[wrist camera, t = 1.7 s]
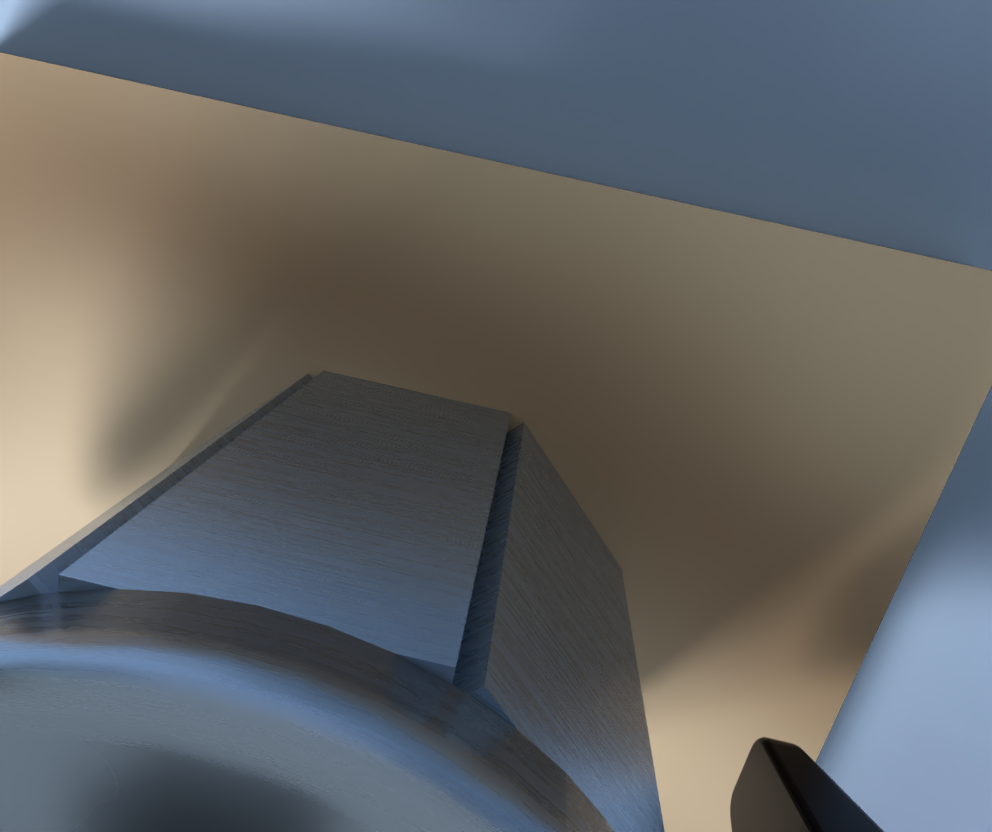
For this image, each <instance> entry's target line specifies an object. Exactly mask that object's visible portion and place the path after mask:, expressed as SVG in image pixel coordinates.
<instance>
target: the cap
mask: <svg viewBox="0 0 992 832" xmlns="http://www.w3.org/2000/svg"><path fill="white" fill-rule="evenodd" d="M510 415H511V413H510V412H505V411H501V410H496V409H492V408H488V407H483V406H479V405H474V404H470V403H466V402H461V401H457V400H452V399H448V398H443V397H439V396H435V395H430V394H426V393H421V392H417V391H413V390H408V389H404V388H399V387H395V386H391V385H386V384H382V383H377V382H373V381H368V380H364V379H360V378H355V377H351V376H346V375H342V374H338V373H333V372H329V371H323V372H321V373H320V374H319V375H317V376H316V377H315V378H312V377H311V376H310V374H309V373H308V374H307V375H305V376H304V377H302V378H301V379H299V380H298V381H296V382H295V383H293V384H292V385H290V386H289V387H287V388H286V389H284V390H283V391H281V392H280V393H278V394H277V395H275V396H274V397H272V398H271V399H269V400H268V401H266V402H265V403H263V404H262V405H260V406H259V407H257V408H256V409H254V410H253V411H251V412H250V413H248V414H247V415H245V416H244V417H242V418H241V419H239V420H238V421H236V422H235V423H233V424H232V425H230V426H229V427H227V428H226V429H224V430H223V431H221V432H220V433H218V434H217V435H215V436H214V437H212V438H211V439H209V440H208V441H206V442H205V443H203V444H202V445H200V446H199V447H197V448H196V449H194V450H193V451H191V452H190V453H188V454H187V455H185V456H184V457H182V458H181V459H179V460H178V461H176V462H175V463H173V464H172V465H170V466H169V467H167V468H166V469H165V470H163V471H162V472H160V473H159V474H158V475H156V476H155V477H153V478H152V479H150V480H149V481H148V482H146V483H145V484H143V485H142V486H141V487H139V488H138V489H136V490H135V491H134V492H132V493H131V494H129V495H128V496H127V497H125V498H124V499H122V500H121V501H119V502H118V503H117V504H115V505H114V506H112V507H111V508H110V509H108V510H107V511H105V512H104V513H103V514H101V515H100V516H98V517H97V518H95V519H94V520H93V521H91V522H90V523H88V524H87V525H86V526H84V527H83V528H81V529H80V530H79V531H77V532H76V533H74V534H73V535H72V536H70V537H69V538H67V539H66V540H64V541H63V542H62V543H60V544H59V545H57V546H56V547H55V548H53V549H52V550H50V551H49V552H48V553H46V554H45V555H43V556H42V557H41V558H39V559H38V560H36V561H35V562H33V563H32V564H31V565H29V566H28V567H26V568H25V569H24V570H22V571H21V572H19V573H18V574H17V575H15V576H14V577H12V578H11V579H10V580H8V581H7V582H5V583H4V584H2V585H1V586H0V832H665V831H664V825H663V818H662V812H661V806H660V800H659V794H658V788H657V782H656V776H655V770H654V764H653V757H652V751H651V745H650V739H649V733H648V727H647V721H646V715H645V709H644V703H643V696H642V690H641V684H640V678H639V672H638V666H637V660H636V654H635V648H634V642H633V635H632V629H631V623H630V617H629V611H628V605H627V599H626V593H625V587H624V581H623V574H622V568H621V567H620V565H619V564H618V562H617V561H616V559H615V558H614V556H613V555H612V553H611V552H610V550H609V549H608V547H607V546H606V544H605V543H604V541H603V540H602V538H601V537H600V535H599V534H598V532H597V531H596V529H595V528H594V526H593V525H592V523H591V522H590V520H589V519H588V517H587V516H586V514H585V512H584V511H583V509H582V508H581V506H580V505H579V503H578V502H577V500H576V499H575V497H574V496H573V494H572V493H571V491H570V490H569V488H568V487H567V485H566V484H565V482H564V481H563V479H562V478H561V476H560V475H559V473H558V472H557V470H556V469H555V467H554V466H553V464H552V463H551V461H550V460H549V458H548V457H547V455H546V454H545V452H544V451H543V449H542V448H541V446H540V445H539V443H538V442H537V440H536V439H535V437H534V436H533V434H532V433H531V431H530V430H529V428H528V427H527V425H526V424H525V422H523V423H522V424H520V425H518V426H517V427H515V428H513V429H511V430H510V431H508V432H507V429H508V424H509V420H510Z"/></svg>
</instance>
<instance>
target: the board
mask: <svg viewBox="0 0 992 832" xmlns="http://www.w3.org/2000/svg"><path fill="white" fill-rule="evenodd" d="M323 371H329V372H333V373H338V374H342V375H346V376H351V377H355V378H360V379H364V380H368V381H373V382H377V383H382V384H386V385H391V386H395V387H399V388H404V389H408V390H413V391H417V392H421V393H426V394H430V395H435V396H439V397H443V398H448V399H452V400H457V401H461V402H466V403H470V404H474V405H479V406H483V407H488V408H492V409H496V410H501V411H505V412H510V413H511V415H510V420H509V424H508V429H507V432H508V431H510V430H511V429H513V428H515V427H517V426H518V425H520V424H522V423H523V422H525V424H526V425H527V427H528V428H529V430H530V431H531V433H532V434H533V436H534V437H535V439H536V440H537V442H538V443H539V445H540V446H541V448H542V449H543V451H544V452H545V454H546V455H547V457H548V458H549V460H550V461H551V463H552V464H553V466H554V467H555V469H556V470H557V472H558V473H559V475H560V476H561V478H562V479H563V481H564V482H565V484H566V485H567V487H568V488H569V490H570V491H571V493H572V494H573V496H574V497H575V499H576V500H577V502H578V503H579V505H580V506H581V508H582V509H583V511H584V512H585V514H586V516H587V517H588V519H589V520H590V522H591V523H592V525H593V526H594V528H595V529H596V531H597V532H598V534H599V535H600V537H601V538H602V540H603V541H604V543H605V544H606V546H607V547H608V549H609V550H610V552H611V553H612V555H613V556H614V558H615V559H616V561H617V562H618V564H619V565H620V567H621V568H622V574H623V581H624V587H625V593H626V599H627V605H628V611H629V617H630V623H631V629H632V635H633V642H634V648H635V654H636V660H637V666H638V672H639V678H640V684H641V690H642V696H643V703H644V709H645V715H646V721H647V727H648V733H649V739H650V745H651V751H652V757H653V764H654V770H655V776H656V782H657V788H658V794H659V800H660V806H661V812H662V818H663V825H664V831H665V832H732V828H731V819H730V803H731V797H732V792H733V790H734V787H735V785H736V782H737V780H738V778H739V775H740V773H741V771H742V768H743V766H744V763H745V761H746V759H747V756H748V754H749V752H750V749H751V747H752V745H753V744H754V742H755V741H756V740H757V739H759V738H762V737H768V738H772V739H776V740H780V741H785V742H789V743H793V744H795V745H797V746H799V747H800V748H801V749H802V750H804V751H805V752H806V753H807V754H808V755H809V756H810V757H811V758H812V759H813V760H814V761H815V762H816V760H817V758H818V755H819V753H820V751H821V749H822V747H823V745H824V743H825V740H826V738H827V736H828V734H829V732H830V730H831V728H832V725H833V723H834V721H835V719H836V717H837V715H838V713H839V711H840V708H841V706H842V704H843V702H844V700H845V698H846V696H847V693H848V691H849V689H850V687H851V685H852V683H853V681H854V678H855V676H856V674H857V672H858V670H859V668H860V666H861V664H862V661H863V659H864V657H865V655H866V653H867V651H868V649H869V646H870V644H871V642H872V640H873V638H874V636H875V634H876V632H877V629H878V627H879V625H880V623H881V621H882V619H883V617H884V614H885V612H886V610H887V608H888V606H889V604H890V602H891V599H892V597H893V595H894V593H895V591H896V589H897V587H898V585H899V582H900V580H901V578H902V576H903V574H904V572H905V570H906V567H907V565H908V563H909V561H910V559H911V557H912V555H913V553H914V550H915V548H916V546H917V544H918V542H919V540H920V538H921V535H922V533H923V531H924V529H925V527H926V525H927V523H928V520H929V518H930V516H931V514H932V512H933V510H934V508H935V506H936V503H937V501H938V499H939V497H940V495H941V493H942V491H943V488H944V486H945V484H946V482H947V480H948V478H949V476H950V473H951V471H952V469H953V467H954V465H955V463H956V461H957V459H958V456H959V454H960V452H961V450H962V448H963V446H964V444H965V441H966V439H967V437H968V435H969V433H970V431H971V429H972V427H973V424H974V422H975V420H976V418H977V416H978V414H979V412H980V409H981V407H982V405H983V403H984V401H985V399H986V397H987V394H988V392H989V390H990V388H991V386H992V271H991V270H987V269H982V268H977V267H973V266H968V265H964V264H959V263H955V262H950V261H946V260H941V259H937V258H932V257H928V256H923V255H918V254H914V253H909V252H905V251H900V250H896V249H891V248H887V247H882V246H878V245H873V244H868V243H864V242H859V241H855V240H850V239H846V238H841V237H837V236H832V235H828V234H823V233H819V232H814V231H809V230H805V229H800V228H796V227H791V226H787V225H782V224H778V223H773V222H769V221H764V220H759V219H755V218H750V217H746V216H741V215H737V214H732V213H728V212H723V211H719V210H714V209H709V208H705V207H700V206H696V205H691V204H687V203H682V202H678V201H673V200H669V199H664V198H660V197H655V196H650V195H646V194H641V193H637V192H632V191H628V190H623V189H619V188H614V187H610V186H605V185H600V184H596V183H591V182H587V181H582V180H578V179H573V178H569V177H564V176H560V175H555V174H551V173H546V172H541V171H537V170H532V169H528V168H523V167H519V166H514V165H510V164H505V163H501V162H496V161H491V160H487V159H482V158H478V157H473V156H469V155H464V154H460V153H455V152H451V151H446V150H442V149H437V148H432V147H428V146H423V145H419V144H414V143H410V142H405V141H401V140H396V139H392V138H387V137H382V136H378V135H373V134H369V133H364V132H360V131H355V130H351V129H346V128H342V127H337V126H332V125H328V124H323V123H319V122H314V121H310V120H305V119H301V118H296V117H292V116H287V115H283V114H278V113H273V112H269V111H264V110H260V109H255V108H251V107H246V106H242V105H237V104H233V103H228V102H223V101H219V100H214V99H210V98H205V97H201V96H196V95H192V94H187V93H183V92H178V91H174V90H169V89H164V88H160V87H155V86H151V85H146V84H142V83H137V82H133V81H128V80H124V79H119V78H114V77H110V76H105V75H101V74H96V73H92V72H87V71H83V70H78V69H74V68H69V67H65V66H60V65H55V64H51V63H46V62H42V61H37V60H33V59H28V58H24V57H19V56H15V55H10V54H5V53H1V52H0V586H1V585H2V584H4V583H5V582H7V581H8V580H10V579H11V578H12V577H14V576H15V575H17V574H18V573H19V572H21V571H22V570H24V569H25V568H26V567H28V566H29V565H31V564H32V563H33V562H35V561H36V560H38V559H39V558H41V557H42V556H43V555H45V554H46V553H48V552H49V551H50V550H52V549H53V548H55V547H56V546H57V545H59V544H60V543H62V542H63V541H64V540H66V539H67V538H69V537H70V536H72V535H73V534H74V533H76V532H77V531H79V530H80V529H81V528H83V527H84V526H86V525H87V524H88V523H90V522H91V521H93V520H94V519H95V518H97V517H98V516H100V515H101V514H103V513H104V512H105V511H107V510H108V509H110V508H111V507H112V506H114V505H115V504H117V503H118V502H119V501H121V500H122V499H124V498H125V497H127V496H128V495H129V494H131V493H132V492H134V491H135V490H136V489H138V488H139V487H141V486H142V485H143V484H145V483H146V482H148V481H149V480H150V479H152V478H153V477H155V476H156V475H158V474H159V473H160V472H162V471H163V470H165V469H166V468H167V467H169V466H170V465H172V464H173V463H175V462H176V461H178V460H179V459H181V458H182V457H184V456H185V455H187V454H188V453H190V452H191V451H193V450H194V449H196V448H197V447H199V446H200V445H202V444H203V443H205V442H206V441H208V440H209V439H211V438H212V437H214V436H215V435H217V434H218V433H220V432H221V431H223V430H224V429H226V428H227V427H229V426H230V425H232V424H233V423H235V422H236V421H238V420H239V419H241V418H242V417H244V416H245V415H247V414H248V413H250V412H251V411H253V410H254V409H256V408H257V407H259V406H260V405H262V404H263V403H265V402H266V401H268V400H269V399H271V398H272V397H274V396H275V395H277V394H278V393H280V392H281V391H283V390H284V389H286V388H287V387H289V386H290V385H292V384H293V383H295V382H296V381H298V380H299V379H301V378H302V377H304V376H305V375H307V374H308V373H309V374H310V376H311V377H312V378H315V377H316V376H317V375H319V374H320V373H321V372H323Z"/></svg>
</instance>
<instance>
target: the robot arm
mask: <svg viewBox="0 0 992 832" xmlns="http://www.w3.org/2000/svg"><path fill="white" fill-rule="evenodd" d="M730 819H731V828H732V832H884V831H883V830H882V829H881V828H880V827H879V826H878V825H877V824H876V823H875V822H874V821H873V820H872V819H871V818H870V817H869V816H868V815H867V814H866V813H865V812H864V811H863V810H862V809H861V808H860V807H859V806H858V805H857V804H856V803H855V802H854V801H853V800H852V799H851V798H850V797H849V796H848V795H847V794H846V793H845V792H844V791H843V790H842V789H841V788H840V787H839V786H838V785H837V784H836V783H835V782H834V781H833V780H832V779H831V778H830V777H829V776H828V775H827V774H826V773H825V772H824V771H823V770H822V769H821V768H820V766H819V765H818V764H817V763H816V762H815V761H814V760H813V759H812V758H811V757H810V756H809V755H808V754H807V753H806V752H805V751H804V750H802V749H801V748H800V747H799V746H797V745H795V744H793V743H789V742H785V741H780V740H776V739H772V738H768V737H762V738H759V739H757V740H756V741H755V742H754V744H753V745H752V747H751V749H750V752H749V754H748V756H747V759H746V761H745V763H744V766H743V768H742V771H741V773H740V775H739V778H738V780H737V782H736V785H735V787H734V790H733V792H732V797H731V803H730Z"/></svg>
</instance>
